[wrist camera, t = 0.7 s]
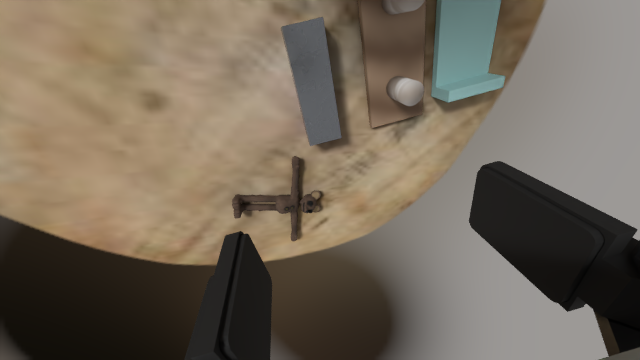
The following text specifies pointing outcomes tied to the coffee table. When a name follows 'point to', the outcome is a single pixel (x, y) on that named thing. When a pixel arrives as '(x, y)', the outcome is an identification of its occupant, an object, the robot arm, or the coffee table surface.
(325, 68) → the steel bar
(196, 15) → the coffee table surface
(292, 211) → the bear figurine
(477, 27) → the slot holder
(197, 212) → the coffee table surface
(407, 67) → the peg stand
